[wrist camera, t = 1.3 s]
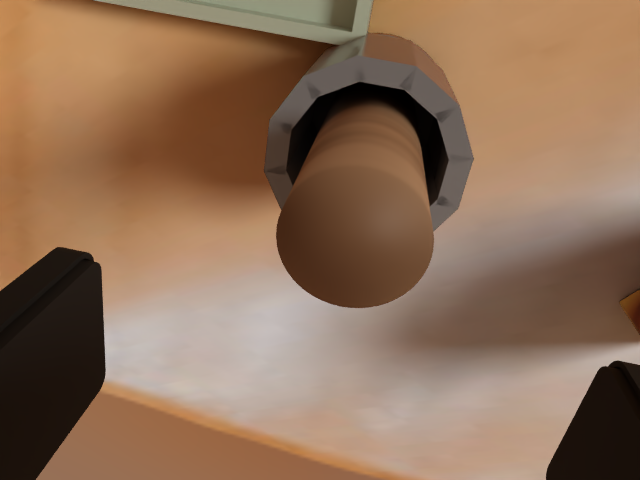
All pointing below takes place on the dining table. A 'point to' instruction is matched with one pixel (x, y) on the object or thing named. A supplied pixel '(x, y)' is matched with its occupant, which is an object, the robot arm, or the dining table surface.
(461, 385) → the dining table surface
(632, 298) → the candy box
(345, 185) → the dowel
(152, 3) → the rectangular frame
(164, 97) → the dining table surface
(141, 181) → the dining table surface
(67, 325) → the robot arm
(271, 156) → the cup
